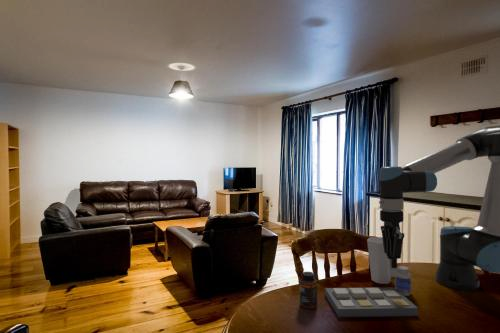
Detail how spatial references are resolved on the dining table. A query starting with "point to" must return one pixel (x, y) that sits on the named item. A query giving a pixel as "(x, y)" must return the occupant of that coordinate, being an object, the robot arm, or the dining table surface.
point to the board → (371, 305)
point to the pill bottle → (403, 281)
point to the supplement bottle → (308, 291)
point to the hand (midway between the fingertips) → (392, 275)
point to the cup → (378, 260)
